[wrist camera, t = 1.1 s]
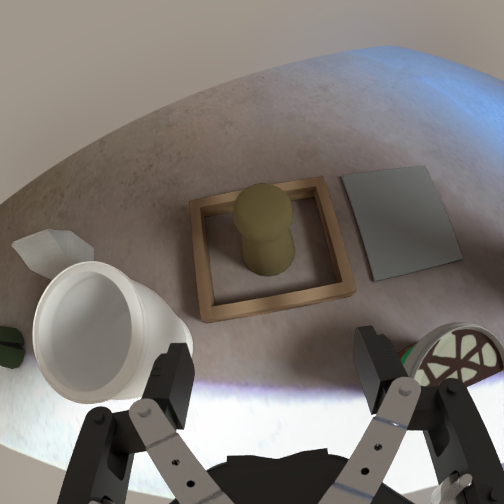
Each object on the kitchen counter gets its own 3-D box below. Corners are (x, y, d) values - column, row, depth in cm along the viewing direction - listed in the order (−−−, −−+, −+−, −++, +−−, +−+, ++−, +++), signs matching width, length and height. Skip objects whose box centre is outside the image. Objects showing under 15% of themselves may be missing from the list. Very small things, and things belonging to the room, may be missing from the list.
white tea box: (94, 273, 36) (47, 245, 27) (57, 282, 37) (9, 258, 27) (94, 248, 38) (50, 215, 28) (58, 258, 38) (13, 230, 29)
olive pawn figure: (301, 234, 35) (306, 181, 25) (285, 283, 34) (286, 246, 23) (252, 220, 37) (239, 165, 26) (234, 267, 35) (213, 225, 25)
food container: (455, 322, 30) (504, 304, 20) (462, 371, 28) (514, 368, 18) (362, 346, 30) (393, 337, 21) (369, 400, 28) (403, 413, 19)
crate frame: (321, 187, 37) (322, 176, 35) (351, 296, 32) (356, 290, 30) (194, 210, 38) (189, 200, 36) (206, 323, 33) (200, 320, 31)
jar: (153, 410, 30) (72, 430, 16) (104, 340, 33) (16, 318, 19) (222, 352, 32) (175, 343, 18) (165, 284, 35) (98, 231, 21)
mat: (424, 167, 37) (424, 165, 37) (461, 259, 32) (463, 258, 32) (341, 177, 38) (341, 175, 37) (373, 281, 33) (374, 280, 32)
